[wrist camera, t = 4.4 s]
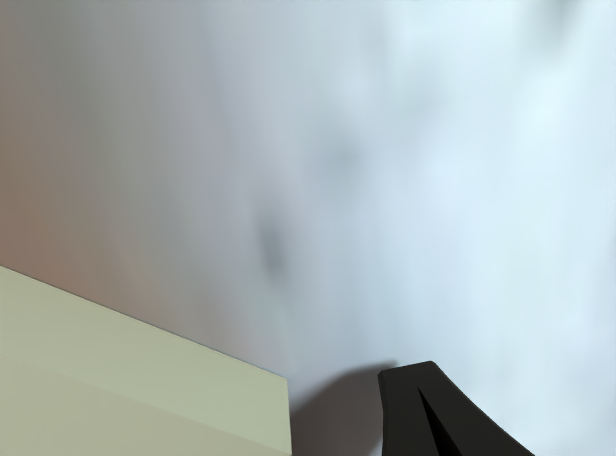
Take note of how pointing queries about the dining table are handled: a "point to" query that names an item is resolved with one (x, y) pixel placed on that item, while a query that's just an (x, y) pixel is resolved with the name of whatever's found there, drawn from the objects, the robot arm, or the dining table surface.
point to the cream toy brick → (124, 385)
